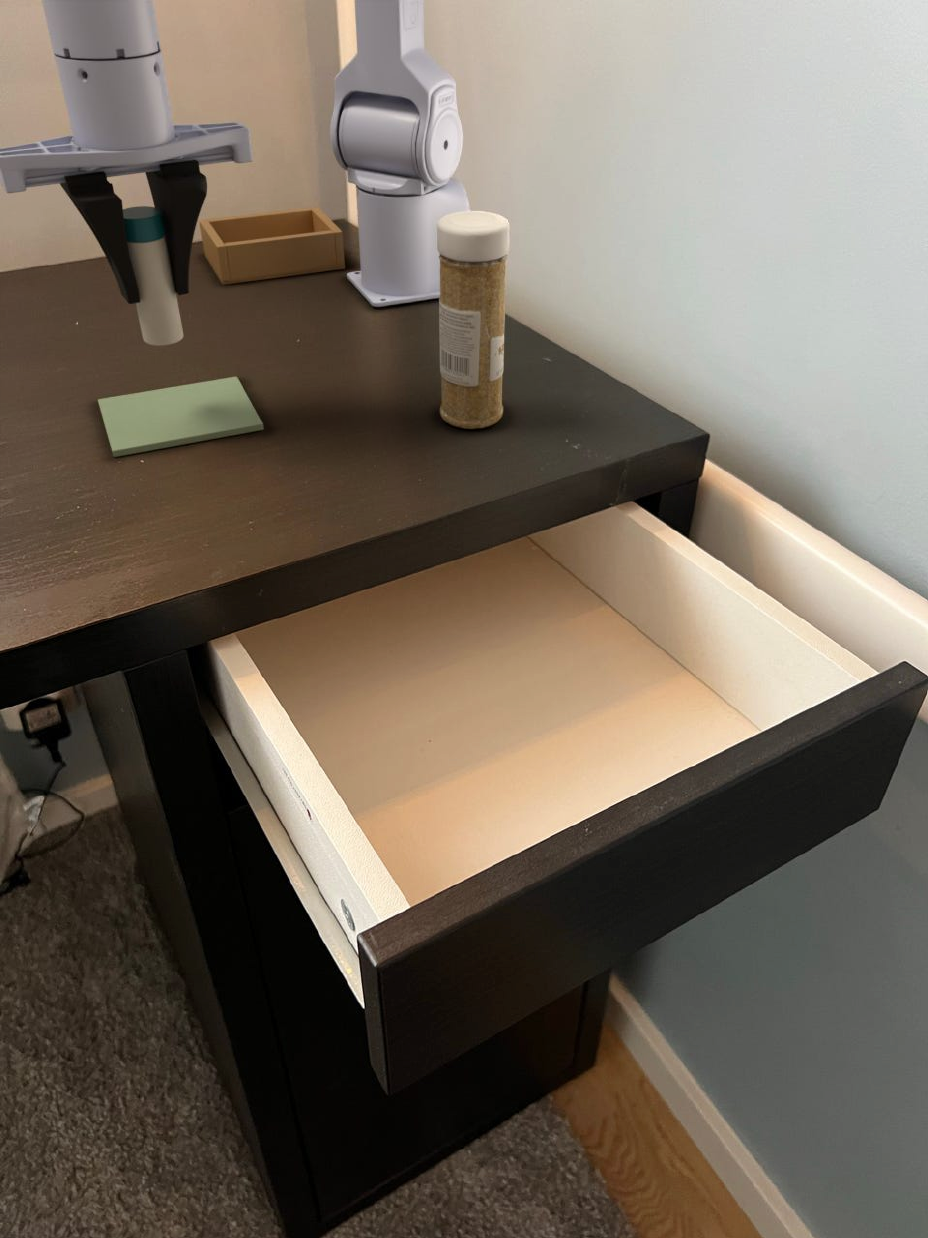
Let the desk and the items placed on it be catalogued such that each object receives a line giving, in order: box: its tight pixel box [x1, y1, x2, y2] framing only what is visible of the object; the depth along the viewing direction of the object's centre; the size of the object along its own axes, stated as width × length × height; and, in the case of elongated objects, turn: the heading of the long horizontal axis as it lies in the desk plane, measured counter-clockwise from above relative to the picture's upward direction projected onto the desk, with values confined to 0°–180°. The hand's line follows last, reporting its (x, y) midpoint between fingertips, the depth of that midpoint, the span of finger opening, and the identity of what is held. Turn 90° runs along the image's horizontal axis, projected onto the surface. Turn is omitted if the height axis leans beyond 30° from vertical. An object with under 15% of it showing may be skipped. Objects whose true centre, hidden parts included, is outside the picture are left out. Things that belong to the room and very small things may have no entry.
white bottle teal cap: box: [123, 205, 184, 347], centre depth 61 cm, size 3×3×8 cm
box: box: [198, 206, 346, 286], centre depth 91 cm, size 12×8×3 cm
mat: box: [97, 376, 264, 458], centre depth 67 cm, size 10×8×1 cm
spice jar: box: [437, 210, 511, 430], centre depth 64 cm, size 5×5×13 cm
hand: (155, 293), depth 62 cm, fingers closed on white bottle teal cap, 2 cm apart
